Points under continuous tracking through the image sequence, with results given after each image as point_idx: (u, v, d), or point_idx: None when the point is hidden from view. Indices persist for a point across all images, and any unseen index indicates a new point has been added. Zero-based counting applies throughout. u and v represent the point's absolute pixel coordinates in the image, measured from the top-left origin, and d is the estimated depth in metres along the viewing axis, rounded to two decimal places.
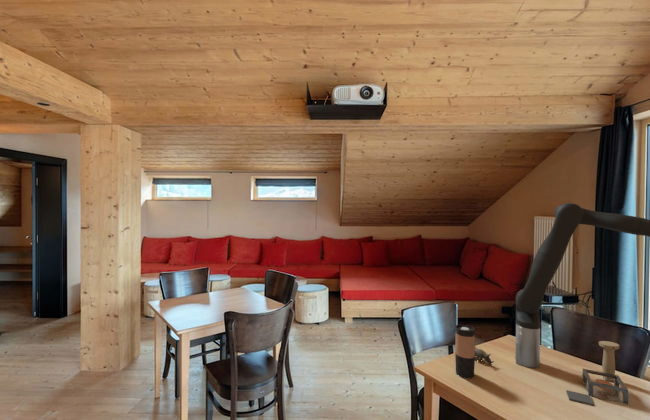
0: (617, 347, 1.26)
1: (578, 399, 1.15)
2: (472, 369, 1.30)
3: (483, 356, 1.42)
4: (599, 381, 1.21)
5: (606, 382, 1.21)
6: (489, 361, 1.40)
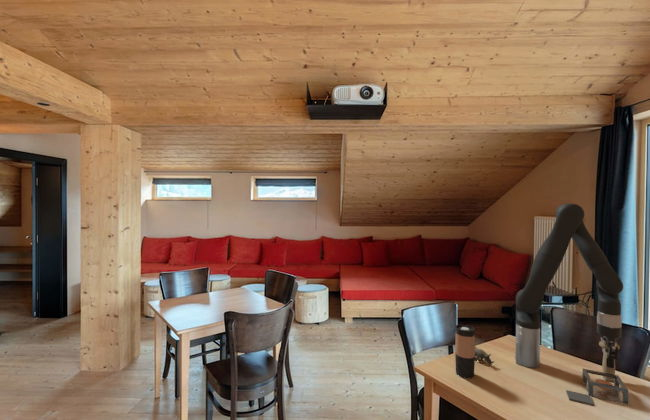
0: None
1: (578, 399, 1.15)
2: (472, 369, 1.30)
3: (483, 356, 1.41)
4: (599, 381, 1.21)
5: (606, 382, 1.21)
6: (489, 361, 1.40)
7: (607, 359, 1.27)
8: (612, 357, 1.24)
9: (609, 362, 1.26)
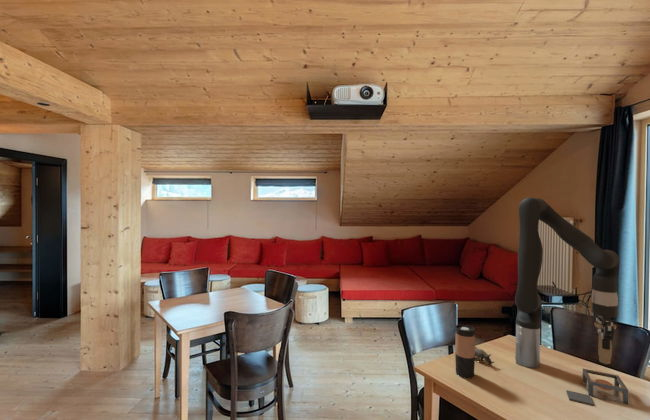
0: (614, 327, 1.18)
1: (578, 399, 1.15)
2: (472, 369, 1.30)
3: (483, 356, 1.41)
4: (599, 381, 1.21)
5: (606, 382, 1.21)
6: (489, 361, 1.39)
7: (603, 340, 1.18)
8: (608, 337, 1.16)
9: (605, 343, 1.18)
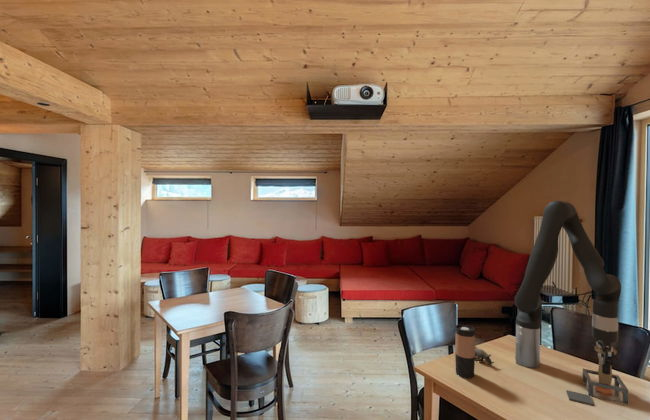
0: (614, 352, 1.18)
1: (578, 399, 1.15)
2: (472, 369, 1.30)
3: (483, 356, 1.41)
4: None
5: None
6: (489, 361, 1.39)
7: (603, 365, 1.19)
8: (608, 363, 1.16)
9: (605, 368, 1.18)
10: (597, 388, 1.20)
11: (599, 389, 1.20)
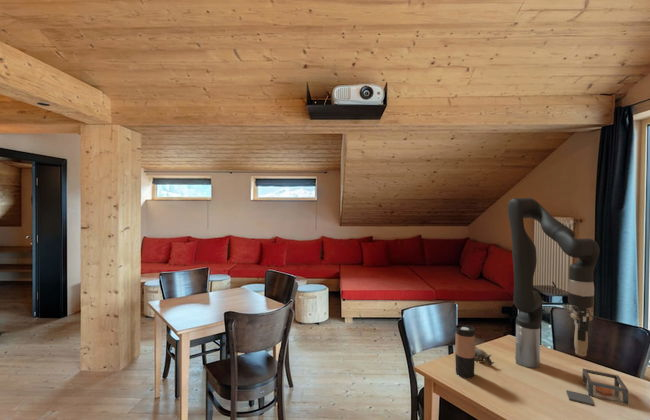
0: (590, 318, 1.14)
1: (578, 399, 1.15)
2: (472, 369, 1.30)
3: (483, 357, 1.41)
4: None
5: None
6: (489, 362, 1.39)
7: (578, 331, 1.14)
8: (583, 328, 1.12)
9: (580, 334, 1.14)
10: (597, 388, 1.20)
11: (599, 389, 1.20)
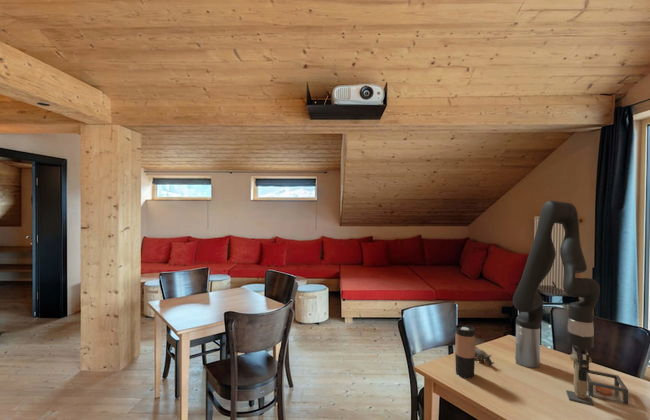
0: (589, 361, 1.14)
1: (578, 399, 1.15)
2: (472, 369, 1.30)
3: (484, 357, 1.41)
4: None
5: None
6: (489, 362, 1.39)
7: (579, 371, 1.13)
8: (584, 368, 1.10)
9: (581, 375, 1.12)
10: (597, 388, 1.20)
11: (599, 389, 1.20)
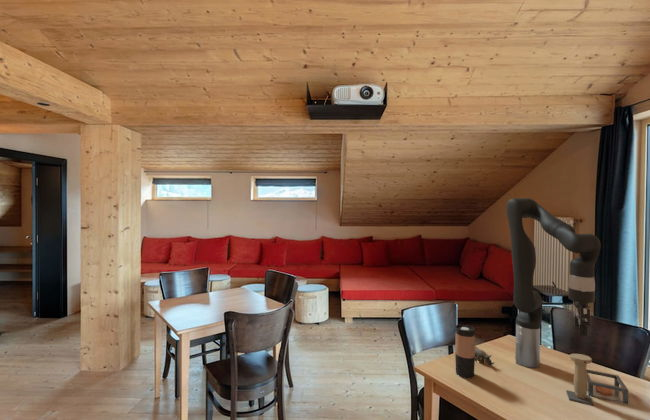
0: (589, 361, 1.14)
1: (578, 399, 1.15)
2: (472, 369, 1.30)
3: (484, 357, 1.41)
4: None
5: None
6: (489, 362, 1.39)
7: (580, 326, 1.12)
8: (585, 322, 1.10)
9: (582, 329, 1.12)
10: (597, 388, 1.20)
11: (599, 389, 1.20)
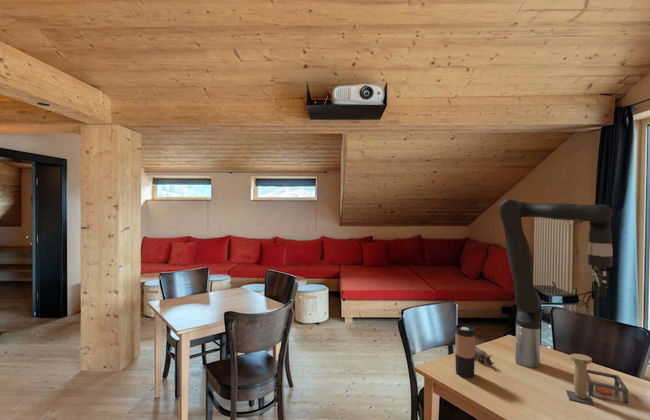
0: (589, 361, 1.14)
1: (578, 399, 1.15)
2: (472, 369, 1.30)
3: (484, 357, 1.41)
4: None
5: None
6: (489, 362, 1.39)
7: (599, 288, 1.23)
8: (604, 284, 1.21)
9: (601, 291, 1.22)
10: (597, 388, 1.20)
11: (599, 389, 1.20)
